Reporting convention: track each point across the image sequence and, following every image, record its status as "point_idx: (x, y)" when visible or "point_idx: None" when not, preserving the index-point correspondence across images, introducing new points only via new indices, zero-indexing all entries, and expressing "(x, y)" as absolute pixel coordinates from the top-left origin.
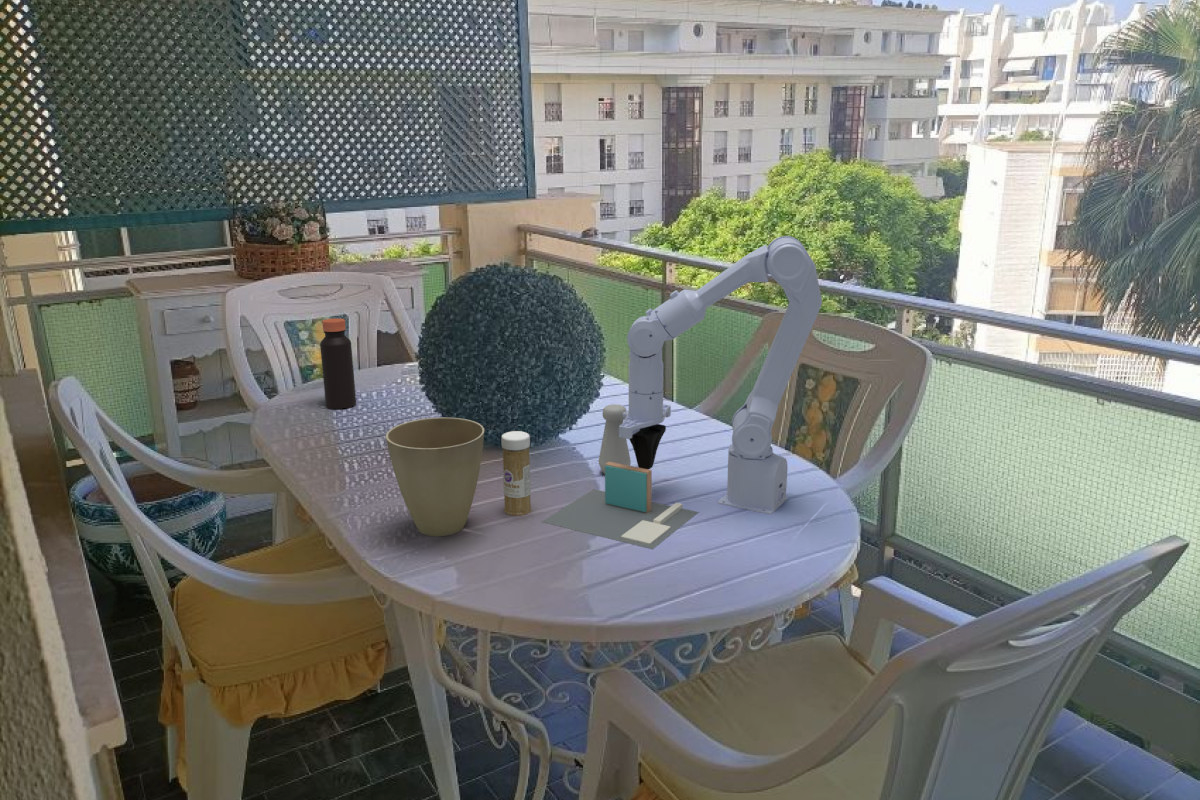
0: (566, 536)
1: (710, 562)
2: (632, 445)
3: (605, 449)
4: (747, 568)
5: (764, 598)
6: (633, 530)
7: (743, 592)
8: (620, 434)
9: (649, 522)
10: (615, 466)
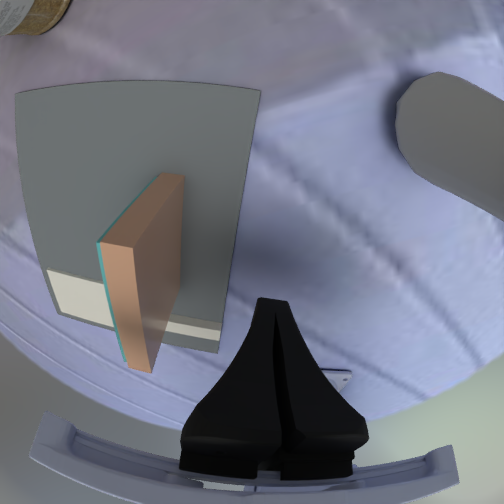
0: (9, 172)
1: (89, 363)
2: (230, 364)
3: (449, 113)
4: (106, 386)
5: (74, 388)
6: (73, 282)
7: (69, 379)
8: (42, 425)
9: None
10: (108, 284)
